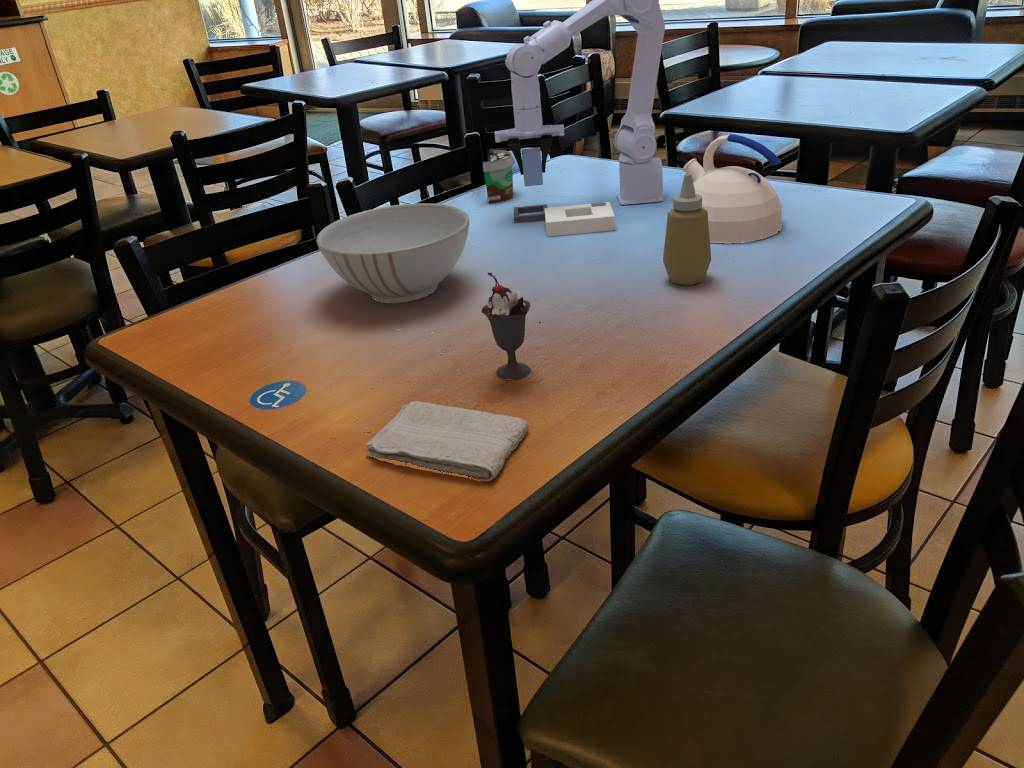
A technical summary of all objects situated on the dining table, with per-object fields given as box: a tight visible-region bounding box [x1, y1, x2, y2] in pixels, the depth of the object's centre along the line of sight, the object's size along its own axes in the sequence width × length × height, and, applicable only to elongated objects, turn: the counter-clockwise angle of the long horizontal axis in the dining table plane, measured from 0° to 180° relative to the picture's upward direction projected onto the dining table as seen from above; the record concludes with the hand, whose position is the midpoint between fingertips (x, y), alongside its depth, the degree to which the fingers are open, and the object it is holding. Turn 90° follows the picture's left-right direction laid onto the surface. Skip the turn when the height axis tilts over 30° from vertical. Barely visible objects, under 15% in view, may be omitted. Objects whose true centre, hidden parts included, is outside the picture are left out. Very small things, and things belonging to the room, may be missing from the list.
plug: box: [521, 146, 544, 187], centre depth 168 cm, size 4×4×7 cm
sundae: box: [481, 272, 532, 380], centre depth 108 cm, size 7×7×15 cm
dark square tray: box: [513, 203, 549, 224], centre depth 174 cm, size 8×8×1 cm
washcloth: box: [365, 400, 530, 483], centre depth 96 cm, size 12×18×3 cm, turn 67°
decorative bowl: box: [316, 202, 470, 304], centre depth 140 cm, size 27×27×12 cm
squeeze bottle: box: [662, 173, 712, 286], centre depth 130 cm, size 8×8×18 cm
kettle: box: [682, 133, 783, 244], centre depth 151 cm, size 20×21×18 cm
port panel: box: [544, 201, 616, 237], centre depth 164 cm, size 14×10×3 cm
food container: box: [482, 149, 516, 204], centre depth 187 cm, size 12×6×10 cm, turn 168°
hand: (532, 172), depth 168 cm, fingers closed on plug, 4 cm apart
